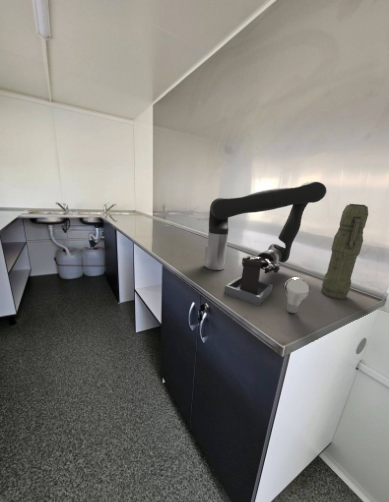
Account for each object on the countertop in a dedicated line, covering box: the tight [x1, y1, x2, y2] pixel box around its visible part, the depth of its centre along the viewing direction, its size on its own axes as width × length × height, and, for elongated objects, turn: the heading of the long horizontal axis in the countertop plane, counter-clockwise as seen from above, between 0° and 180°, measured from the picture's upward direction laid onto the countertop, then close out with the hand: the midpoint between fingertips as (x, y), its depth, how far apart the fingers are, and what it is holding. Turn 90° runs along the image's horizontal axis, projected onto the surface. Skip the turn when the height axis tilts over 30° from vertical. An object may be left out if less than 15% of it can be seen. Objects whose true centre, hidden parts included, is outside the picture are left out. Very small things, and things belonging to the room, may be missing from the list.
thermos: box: [320, 203, 369, 301], centre depth 80 cm, size 9×12×35 cm
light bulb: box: [283, 276, 310, 315], centre depth 66 cm, size 7×7×12 cm
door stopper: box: [240, 258, 262, 295], centre depth 79 cm, size 9×6×12 cm, turn 165°
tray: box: [223, 275, 273, 306], centre depth 80 cm, size 13×14×3 cm
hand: (254, 267), depth 80 cm, fingers open, 8 cm apart
